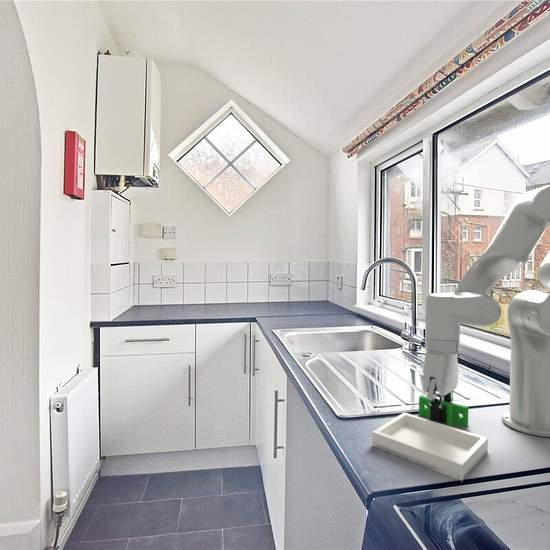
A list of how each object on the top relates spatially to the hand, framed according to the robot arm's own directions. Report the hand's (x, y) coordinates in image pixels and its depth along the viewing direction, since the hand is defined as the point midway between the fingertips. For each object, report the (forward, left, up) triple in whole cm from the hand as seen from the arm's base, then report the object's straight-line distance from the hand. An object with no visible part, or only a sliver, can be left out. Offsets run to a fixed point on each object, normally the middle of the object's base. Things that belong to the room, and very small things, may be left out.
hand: (441, 419), depth 91 cm
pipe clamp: (0, 0, -1) cm, 1 cm away
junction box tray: (+15, +3, 0) cm, 15 cm away
